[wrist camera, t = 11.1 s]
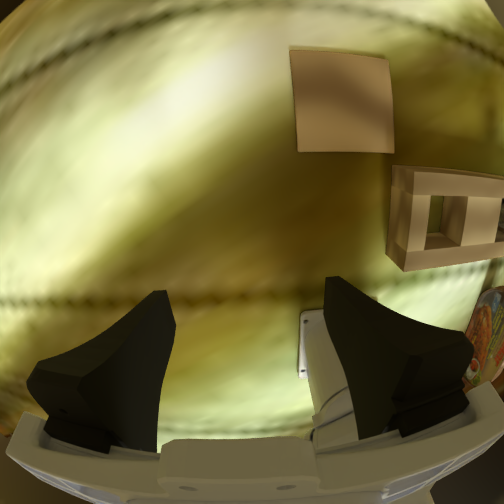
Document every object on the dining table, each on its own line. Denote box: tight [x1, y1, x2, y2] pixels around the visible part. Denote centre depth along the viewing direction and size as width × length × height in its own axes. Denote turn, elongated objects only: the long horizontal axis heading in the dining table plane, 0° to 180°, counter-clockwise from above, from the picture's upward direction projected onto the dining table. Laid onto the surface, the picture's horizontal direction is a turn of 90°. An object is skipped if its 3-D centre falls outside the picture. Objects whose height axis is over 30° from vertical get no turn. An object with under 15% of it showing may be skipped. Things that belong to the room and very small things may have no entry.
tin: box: [463, 286, 504, 388], centre depth 24 cm, size 15×3×8 cm, turn 5°
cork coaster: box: [290, 50, 394, 153], centre depth 18 cm, size 8×8×1 cm
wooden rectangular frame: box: [386, 165, 504, 272], centre depth 20 cm, size 8×18×4 cm, turn 94°
